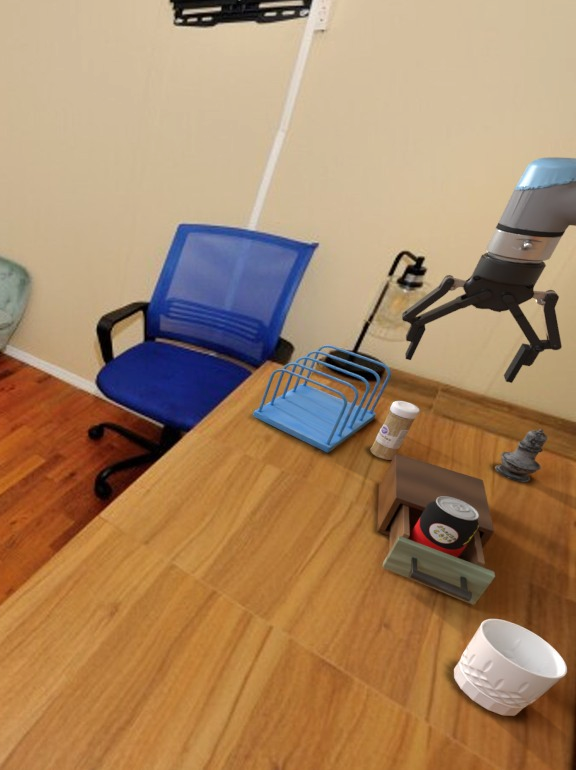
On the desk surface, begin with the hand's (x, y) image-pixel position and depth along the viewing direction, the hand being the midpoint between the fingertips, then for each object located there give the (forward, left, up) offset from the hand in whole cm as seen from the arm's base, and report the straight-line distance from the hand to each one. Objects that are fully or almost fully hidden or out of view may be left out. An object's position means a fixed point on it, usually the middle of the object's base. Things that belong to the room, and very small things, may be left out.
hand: (455, 367), depth 93 cm
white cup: (-10, +44, -29) cm, 54 cm away
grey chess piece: (-20, -20, -29) cm, 40 cm away
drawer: (-4, +24, -28) cm, 37 cm away
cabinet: (-4, +10, -29) cm, 31 cm away
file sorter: (+16, -18, -29) cm, 38 cm away
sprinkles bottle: (+2, -11, -29) cm, 31 cm away
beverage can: (-4, +23, -27) cm, 35 cm away
